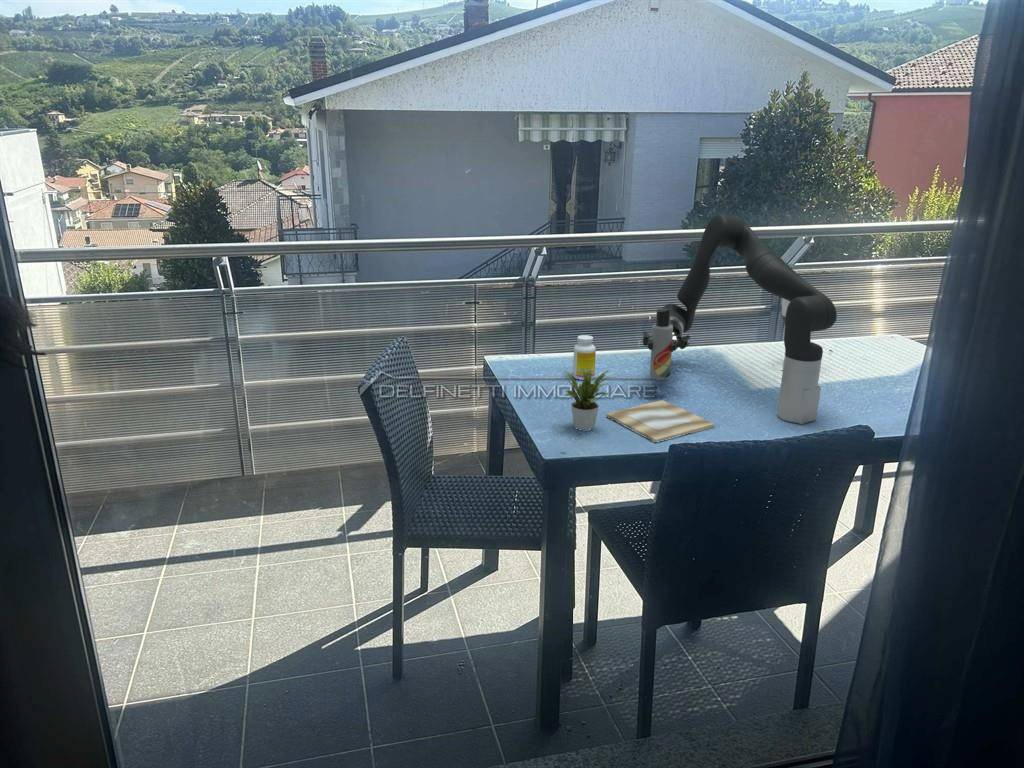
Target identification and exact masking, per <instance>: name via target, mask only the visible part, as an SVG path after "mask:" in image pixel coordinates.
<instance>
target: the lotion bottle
mask: <svg viewBox="0 0 1024 768" xmlns="http://www.w3.org/2000/svg"><path fill="white" fill-rule="evenodd" d="M655 313H656V314H655V319H656V320H655V323H654V324H653V325H652V327H651V329H652V330H651V335H652V342H653V343H652V350H650V364H649V365H650V366H649V367H650V369H649V370H650V371H649V377H650V378H651V379H653V380H658V381H664V380H668V379H670V377H671V370H672V369H671V368H672V355H673V352H670V350H671V343H672V337H673V326H672V325H670V310H669V309H668V308H658V309H657V310H656V312H655Z"/></svg>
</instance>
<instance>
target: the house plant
mask: <svg viewBox="0 0 1024 768" xmlns="http://www.w3.org/2000/svg"><path fill="white" fill-rule="evenodd" d="M582 371H583V369H582ZM564 372H565V373H566V375H567V376H568V377H569V378H565V380H566V381H567V382H568V383H569V384H570V385H571V390H569V389H567V390H566V391H565V392H567V393H566V394H565V395H564V397H572V398H573V399H574V400H575V401H573V402H572V403H571V412H572V420H573V421H572V422H573V427H575V428H577V429H581V430H589V429H593V428H594V429H595V425H596V421H597V417H598V411H599V406H600V405H599V403H598V402H597V401H598V400H599V399H600V398H602V397H603V396H605V395H607V396H609V394H611V395H612V394H613V393H612V392H603V391H601V392H599V390H600V388H601V387H602V386H606V385H607V383H602V382H604V381H606V380H608V379H616V378H617V377H613V376H608V377H606V376H607V373H608V372H609V370H606V371H605V372H603V373H602V372H601V374H600V375H599V376H597V377H594V378H593V379H591V376H592V374H591V369H590V366H589V369H588V368H587V369H586V371H585V373H584V371H583V376H584V379H583V380H582V382H581V384H579V385H578V383H577V381H576V380H575V379H576V378H574V376H573V374H570V373H569V372H568V371H567V370H564ZM569 379H570V380H569ZM593 380H594V381H593ZM592 381H593V383H592ZM609 385H611V384H610V383H609ZM600 395H601V396H600ZM597 396H599V397H598V398H597V399H596V397H597ZM575 428H574V429H575ZM577 429H576V430H577ZM594 429H593V430H594Z"/></svg>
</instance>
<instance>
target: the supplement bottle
mask: <svg viewBox="0 0 1024 768" xmlns="http://www.w3.org/2000/svg"><path fill="white" fill-rule="evenodd" d="M576 340H577V343H576V344H575V345H574V347H573V363H572V364H573V366H572V376H573V378H574V379H576V380H578V379H579V380H580V381H583V379H584V376H583V371H584V373H585V371H586V369H587V368H588V369H589V366H590V369H591V374H592V376H591V379H593V378H596V377H595V375H596V374H595V373H596V357H597V356H596V353H597V351H596V350H597V348H596V346H595V345H594V344H593V342H594V337H593V336H592V335H585V334H580V335H578V336H577V339H576ZM582 369H583V371H582ZM579 380H578V381H579ZM593 380H594V379H593Z"/></svg>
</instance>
